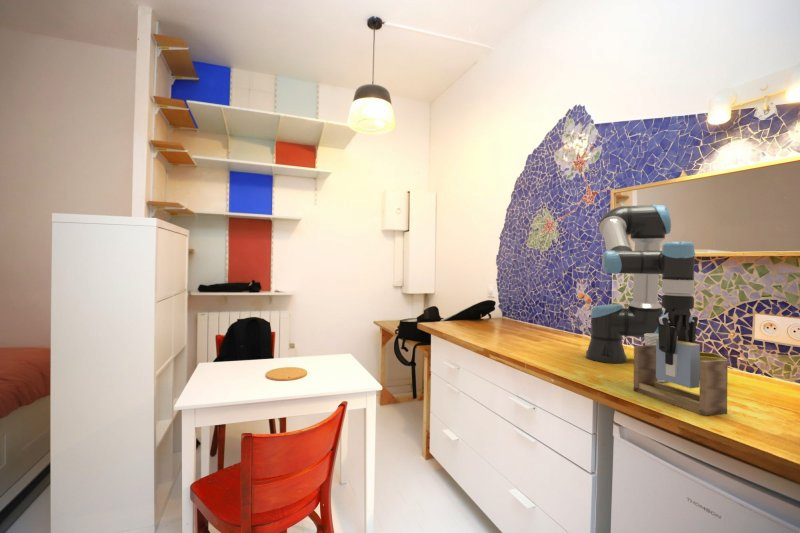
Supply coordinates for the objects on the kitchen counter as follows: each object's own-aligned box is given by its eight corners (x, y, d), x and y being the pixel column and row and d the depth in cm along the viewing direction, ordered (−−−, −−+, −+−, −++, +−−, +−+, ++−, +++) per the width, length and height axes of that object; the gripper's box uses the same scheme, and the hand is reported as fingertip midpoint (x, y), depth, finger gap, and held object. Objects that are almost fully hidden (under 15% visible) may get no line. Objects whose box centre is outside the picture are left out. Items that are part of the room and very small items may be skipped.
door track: (652, 388, 119) (653, 344, 119) (727, 413, 99) (727, 360, 99) (633, 390, 117) (634, 346, 117) (705, 416, 96) (706, 362, 97)
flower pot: (715, 378, 132) (715, 352, 132) (727, 385, 124) (727, 358, 124) (685, 375, 135) (685, 350, 135) (695, 382, 127) (696, 355, 127)
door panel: (664, 377, 113) (665, 337, 113) (699, 387, 103) (699, 344, 103) (655, 378, 112) (656, 338, 112) (690, 388, 102) (690, 344, 102)
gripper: (685, 293, 114) (684, 370, 114) (643, 293, 109) (642, 373, 109) (712, 295, 107) (711, 377, 106) (668, 295, 102) (667, 381, 102)
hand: (676, 375), depth 108 cm, fingers closed on door panel, 3 cm apart
